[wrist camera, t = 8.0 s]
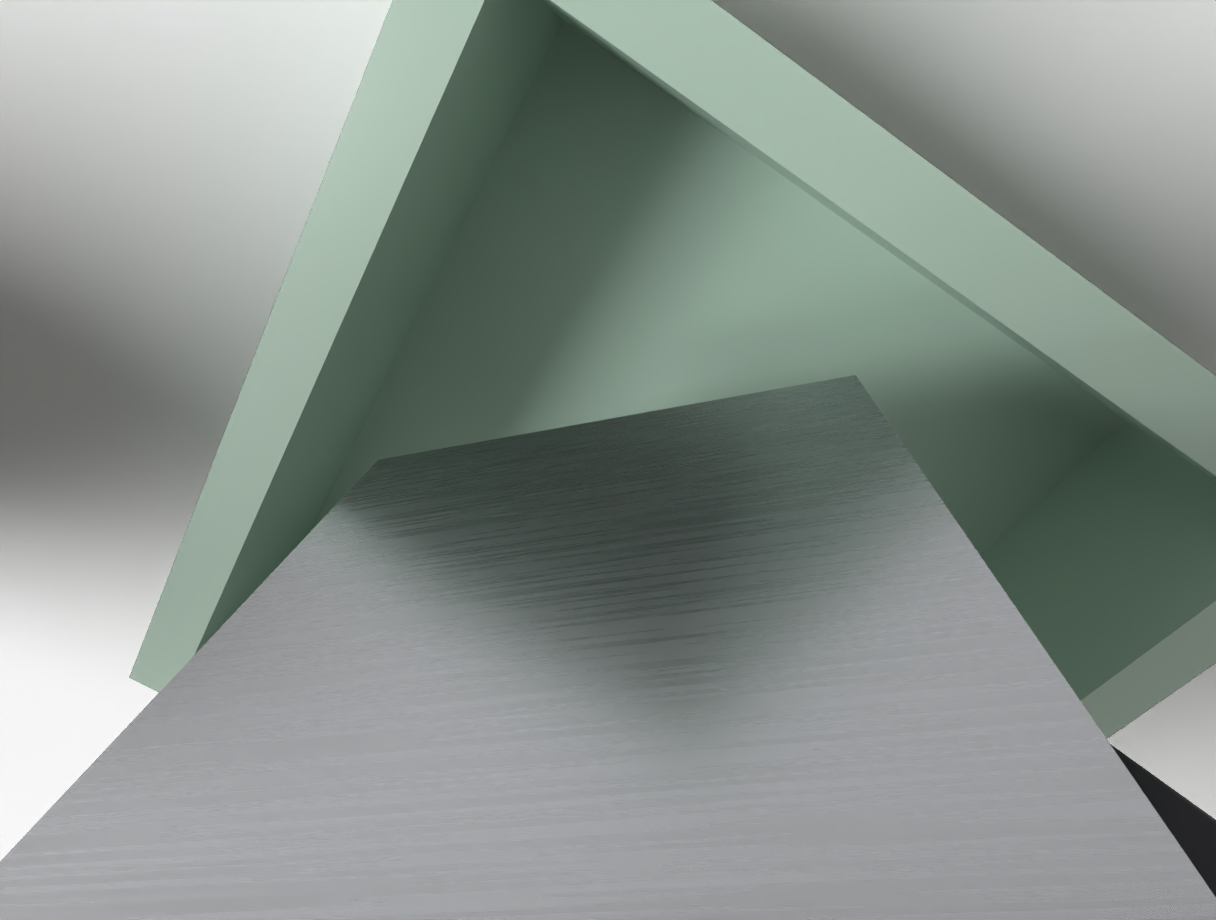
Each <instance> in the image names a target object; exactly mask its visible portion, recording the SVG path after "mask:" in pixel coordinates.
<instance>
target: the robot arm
mask: <svg viewBox="0 0 1216 920" xmlns="http://www.w3.org/2000/svg"><path fill="white" fill-rule="evenodd" d="M1110 745H1111V744H1110ZM1111 746H1112V745H1111ZM1112 748H1113V749H1114V750H1115V752H1116V753H1117V755H1118V756H1119V758H1120V759H1121V761H1122V762H1123V764H1124V765H1125V766H1126V768H1127V769H1128V771H1129V772H1130V774H1131V775H1132V777H1133V778H1134V780H1135V781H1136V782H1137V784H1138V785H1139V787H1140V788H1141V790H1142V791H1143V793H1144V794H1145V795H1146V797H1147V798H1148V800H1149V801H1150V803H1151V804H1152V806H1153V807H1154V809H1155V810H1156V811H1157V813H1158V814H1159V816H1160V817H1161V819H1162V820H1163V822H1164V823H1165V824H1166V826H1167V827H1168V829H1169V830H1170V832H1171V833H1172V835H1173V836H1174V838H1175V839H1176V840H1177V842H1178V843H1179V845H1180V846H1181V848H1182V849H1183V851H1184V852H1185V854H1186V855H1187V856H1188V858H1189V859H1190V861H1191V862H1192V864H1193V865H1194V867H1195V868H1196V869H1197V871H1198V872H1199V874H1200V875H1201V877H1202V878H1203V880H1204V881H1205V883H1206V884H1207V885H1208V887H1209V888H1210V890H1211V891H1212V893H1213V894H1214V896H1215V897H1216V820H1215V819H1214V818H1212V817H1211V816H1210V815H1208V814H1207V813H1205V812H1204V811H1203V810H1201V809H1200V808H1199V807H1197V806H1196V805H1194V804H1193V803H1192V802H1190V801H1189V800H1187V799H1186V798H1185V797H1183V796H1182V795H1180V794H1179V793H1178V792H1176V791H1175V790H1173V789H1172V788H1171V787H1169V786H1168V785H1166V784H1165V783H1164V782H1162V781H1161V780H1159V779H1158V778H1157V777H1155V776H1154V775H1153V774H1151V773H1150V772H1148V771H1147V770H1146V769H1144V768H1143V767H1141V766H1140V765H1139V764H1137V763H1136V762H1134V761H1133V760H1132V759H1130V758H1129V757H1127V756H1126V755H1125V754H1123V753H1122V752H1120V751H1119V750H1118V749H1116V748H1115V747H1113V746H1112Z"/></svg>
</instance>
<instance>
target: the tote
mask: <svg viewBox="0 0 1216 920" xmlns="http://www.w3.org/2000/svg"><path fill="white" fill-rule="evenodd" d="M853 375H856V376H857V378H858V379H859V381H860V382H861V383H862V385H863V386H864V388H865V389H866V391H867V392H868V394H869V395H870V396H871V398H872V399H873V401H874V402H875V404H876V405H877V407H878V408H879V410H880V411H881V412H882V414H883V415H884V417H885V418H886V420H887V421H888V423H889V424H890V425H891V427H892V428H893V430H894V431H895V433H896V434H897V436H898V437H899V439H900V440H901V441H902V443H903V444H904V446H905V447H906V449H907V450H908V452H909V453H910V455H911V456H912V457H913V459H914V460H915V462H916V463H917V465H918V466H919V468H920V469H921V470H922V472H923V473H924V475H925V476H926V478H927V479H928V481H929V482H930V484H931V485H932V486H933V488H934V489H935V491H936V492H937V494H938V495H939V497H940V498H941V499H942V501H943V502H944V504H945V505H946V507H947V508H948V510H949V511H950V513H951V514H952V515H953V517H954V518H955V520H956V521H957V523H958V524H959V526H960V527H961V529H962V530H963V531H964V533H965V534H966V536H967V537H968V539H969V540H970V542H971V543H972V544H973V546H974V547H975V549H976V550H977V552H978V553H979V555H980V556H981V558H982V559H983V560H984V562H985V563H986V565H987V566H988V568H989V569H990V571H991V572H992V573H993V575H994V576H995V578H996V579H997V581H998V582H999V584H1000V585H1001V587H1002V588H1003V589H1004V591H1005V592H1006V594H1007V595H1008V597H1009V598H1010V600H1011V601H1012V603H1013V604H1014V605H1015V607H1016V608H1017V610H1018V611H1019V613H1020V614H1021V616H1022V617H1023V618H1024V620H1025V621H1026V623H1027V624H1028V626H1029V627H1030V629H1031V630H1032V632H1033V633H1034V634H1035V636H1036V637H1037V639H1038V640H1039V642H1040V643H1041V645H1042V646H1043V647H1044V649H1045V650H1046V652H1047V653H1048V655H1049V656H1050V658H1051V659H1052V661H1053V662H1054V663H1055V665H1056V666H1057V668H1058V669H1059V671H1060V672H1061V674H1062V675H1063V676H1064V678H1065V679H1066V681H1067V682H1068V684H1069V685H1070V687H1071V688H1072V690H1073V691H1074V692H1075V694H1076V695H1077V697H1078V698H1079V700H1080V701H1081V703H1082V704H1083V706H1084V707H1085V708H1086V710H1087V711H1088V713H1089V714H1090V716H1091V717H1092V719H1093V720H1094V721H1095V723H1096V724H1097V726H1098V727H1099V729H1100V730H1101V732H1102V733H1103V735H1104V736H1105V737H1106V739H1107V738H1109V737H1110V736H1112V735H1113V734H1115V733H1116V732H1117V731H1119V730H1120V729H1122V728H1123V727H1125V726H1126V725H1127V724H1129V723H1130V722H1132V721H1133V720H1135V719H1136V718H1137V717H1139V716H1140V715H1142V714H1143V713H1145V712H1146V711H1147V710H1149V709H1150V708H1152V707H1153V706H1155V705H1156V704H1158V703H1159V702H1160V701H1162V700H1163V699H1165V698H1166V697H1168V696H1169V695H1170V694H1172V693H1173V692H1175V691H1176V690H1178V689H1179V688H1180V687H1182V686H1183V685H1185V684H1186V683H1188V682H1189V681H1191V680H1192V679H1193V678H1195V677H1196V676H1198V675H1199V674H1201V673H1202V672H1203V671H1205V670H1206V669H1208V668H1209V667H1211V666H1212V665H1213V664H1215V663H1216V376H1215V375H1214V374H1213V373H1211V372H1210V371H1209V370H1207V369H1206V368H1205V367H1203V366H1202V365H1201V364H1199V363H1198V362H1197V361H1195V360H1194V359H1193V358H1191V357H1190V356H1189V355H1187V354H1186V353H1185V352H1183V351H1182V350H1181V349H1179V348H1178V347H1177V346H1175V345H1174V344H1173V343H1171V342H1170V341H1168V340H1167V339H1166V338H1164V337H1163V336H1162V335H1160V334H1159V333H1158V332H1156V331H1155V330H1154V329H1152V328H1151V327H1150V326H1148V325H1147V324H1146V323H1144V322H1143V321H1142V320H1140V319H1139V318H1138V317H1136V316H1135V315H1134V314H1132V313H1131V312H1130V311H1128V310H1127V309H1126V308H1124V307H1123V306H1121V305H1120V304H1119V303H1117V302H1116V301H1115V300H1113V299H1112V298H1111V297H1109V296H1108V295H1107V294H1105V293H1104V292H1103V291H1101V290H1100V289H1099V288H1097V287H1096V286H1095V285H1093V284H1092V283H1091V282H1089V281H1088V280H1087V279H1085V278H1084V277H1083V276H1081V275H1080V274H1078V273H1077V272H1076V271H1074V270H1073V269H1072V268H1070V267H1069V266H1068V265H1066V264H1065V263H1064V262H1062V261H1061V260H1060V259H1058V258H1057V257H1056V256H1054V255H1053V254H1052V253H1050V252H1049V251H1048V250H1046V249H1045V248H1044V247H1042V246H1041V245H1040V244H1038V243H1037V242H1036V241H1034V240H1033V239H1031V238H1030V237H1029V236H1027V235H1026V234H1025V233H1023V232H1022V231H1021V230H1019V229H1018V228H1017V227H1015V226H1014V225H1013V224H1011V223H1010V222H1009V221H1007V220H1006V219H1005V218H1003V217H1002V216H1001V215H999V214H998V213H997V212H995V211H994V210H993V209H991V208H990V207H989V206H987V205H986V204H984V203H983V202H982V201H980V200H979V199H978V198H976V197H975V196H974V195H972V194H971V193H970V192H968V191H967V190H966V189H964V188H963V187H962V186H960V185H959V184H958V183H956V182H955V181H954V180H952V179H951V178H950V177H948V176H947V175H946V174H944V173H943V172H941V171H940V170H939V169H937V168H936V167H935V166H933V165H932V164H931V163H929V162H928V161H927V160H925V159H924V158H923V157H921V156H920V155H919V154H917V153H916V152H915V151H913V150H912V149H911V148H909V147H908V146H907V145H905V144H904V143H903V142H901V141H900V140H899V139H897V138H896V137H894V136H893V135H892V134H890V133H889V132H888V131H886V130H885V129H884V128H882V127H881V126H880V125H878V124H877V123H876V122H874V121H873V120H872V119H870V118H869V117H868V116H866V115H865V114H864V113H862V112H861V111H860V110H858V109H857V108H856V107H854V106H853V105H852V104H850V103H849V102H847V101H846V100H845V99H843V98H842V97H841V96H839V95H838V94H837V93H835V92H834V91H833V90H831V89H830V88H829V87H827V86H826V85H825V84H823V83H822V82H821V81H819V80H818V79H817V78H815V77H814V76H813V75H811V74H810V73H809V72H807V71H806V70H804V69H803V68H802V67H800V66H799V65H798V64H796V63H795V62H794V61H792V60H791V59H790V58H788V57H787V56H786V55H784V54H783V53H782V52H780V51H779V50H778V49H776V48H775V47H774V46H772V45H771V44H770V43H768V42H767V41H766V40H764V39H763V38H762V37H760V36H759V35H757V34H756V33H755V32H753V31H752V30H751V29H749V28H748V27H747V26H745V25H744V24H743V23H741V22H740V21H739V20H737V19H736V18H735V17H733V16H732V15H731V14H729V13H728V12H727V11H725V10H724V9H723V8H721V7H720V6H719V5H717V4H716V3H715V2H713V1H712V0H392V3H391V6H390V8H389V11H388V13H387V16H386V18H385V21H384V24H383V26H382V29H381V31H380V34H379V36H378V39H377V42H376V44H375V47H374V49H373V52H372V54H371V57H370V60H369V62H368V65H367V67H366V70H365V72H364V75H363V78H362V80H361V83H360V85H359V88H358V90H357V93H356V96H355V98H354V101H353V103H352V106H351V108H350V111H349V114H348V116H347V119H346V121H345V124H344V126H343V129H342V132H341V134H340V137H339V139H338V142H337V144H336V147H335V150H334V152H333V155H332V157H331V160H330V162H329V165H328V168H327V170H326V173H325V175H324V178H323V180H322V183H321V186H320V188H319V191H318V193H317V196H316V198H315V201H314V204H313V206H312V209H311V211H310V214H309V216H308V219H307V222H306V224H305V227H304V229H303V232H302V234H301V237H300V240H299V242H298V245H297V247H296V250H295V252H294V255H293V258H292V260H291V263H290V265H289V268H288V270H287V273H286V276H285V278H284V281H283V283H282V286H281V288H280V291H279V294H278V296H277V299H276V301H275V304H274V306H273V309H272V312H271V314H270V317H269V319H268V322H267V324H266V327H265V330H264V332H263V335H262V337H261V340H260V342H259V345H258V348H257V350H256V353H255V355H254V358H253V360H252V363H251V366H250V368H249V371H248V373H247V376H246V378H245V381H244V384H243V386H242V389H241V391H240V394H239V396H238V399H237V402H236V404H235V407H234V409H233V412H232V414H231V417H230V420H229V422H228V425H227V427H226V430H225V432H224V435H223V438H222V440H221V443H220V445H219V448H218V450H217V453H216V456H215V458H214V461H213V463H212V466H211V468H210V471H209V474H208V476H207V479H206V481H205V484H204V486H203V489H202V492H201V494H200V497H199V499H198V502H197V504H196V507H195V510H194V512H193V515H192V517H191V520H190V522H189V525H188V528H187V530H186V533H185V535H184V538H183V540H182V543H181V546H180V548H179V551H178V553H177V556H176V558H175V561H174V564H173V566H172V569H171V571H170V574H169V576H168V579H167V582H166V584H165V587H164V589H163V592H162V594H161V597H160V600H159V602H158V605H157V607H156V610H155V612H154V615H153V618H152V620H151V623H150V625H149V628H148V630H147V633H146V636H145V638H144V641H143V643H142V646H141V648H140V651H139V654H138V656H137V659H136V661H135V664H134V666H133V669H132V672H131V674H130V677H129V678H131V679H133V680H135V681H137V682H139V683H141V684H143V685H145V686H147V687H149V688H151V689H153V690H155V691H157V692H160V691H161V690H162V689H163V688H164V687H165V686H166V685H167V684H168V683H169V682H170V681H171V680H172V679H173V678H174V676H175V675H176V674H177V673H178V672H179V671H180V670H181V669H182V668H183V667H184V666H185V665H186V664H187V663H188V662H189V660H190V659H191V658H192V657H193V656H194V655H195V654H196V653H197V652H198V651H199V650H200V649H201V648H202V647H203V646H204V645H205V643H206V642H207V641H208V640H209V639H210V638H211V637H212V636H213V635H214V634H215V633H216V632H217V631H218V630H219V629H220V628H221V626H222V625H223V624H224V623H225V622H226V621H227V620H228V619H229V618H230V617H231V616H232V615H233V614H234V613H235V612H236V610H237V609H238V608H239V607H240V606H241V605H242V604H243V603H244V602H245V601H246V600H247V599H248V598H249V597H250V596H251V595H252V593H253V592H254V591H255V590H256V589H257V588H258V587H259V586H260V585H261V584H262V583H263V582H264V581H265V580H266V579H267V578H268V576H269V575H270V574H271V573H272V572H273V571H274V570H275V569H276V568H277V567H278V566H279V565H280V564H281V563H282V562H283V560H284V559H285V558H286V557H287V556H288V555H289V554H290V553H291V552H292V551H293V550H294V549H295V548H296V547H297V546H298V545H299V543H300V542H301V541H302V540H303V539H304V538H305V537H306V536H307V535H308V534H309V533H310V532H311V531H312V530H313V529H314V528H315V526H316V525H317V524H318V523H319V522H320V521H321V520H322V519H323V518H324V517H325V516H326V515H327V514H328V513H329V512H330V510H331V509H332V508H333V507H334V506H335V505H336V504H337V503H338V502H339V501H340V500H341V499H342V498H343V497H344V496H345V495H346V493H347V492H348V491H349V490H350V489H351V488H352V487H353V486H354V485H355V484H356V483H357V482H358V481H359V480H360V479H361V478H362V476H363V475H364V474H365V473H366V472H367V471H368V470H369V469H370V468H371V467H372V466H373V465H374V464H375V463H376V462H377V460H380V459H385V458H391V457H396V456H402V455H408V454H413V453H419V452H425V451H430V450H436V449H442V448H447V447H453V446H458V445H464V444H470V443H475V442H481V441H487V440H492V439H498V438H503V437H509V436H515V435H520V434H526V433H532V432H537V431H543V430H549V429H554V428H560V427H565V426H571V425H577V424H582V423H588V422H594V421H599V420H605V419H610V418H616V417H622V416H627V415H633V414H639V413H644V412H650V411H656V410H661V409H667V408H672V407H678V406H684V405H689V404H695V403H701V402H706V401H712V400H717V399H723V398H729V397H734V396H740V395H746V394H751V393H757V392H763V391H768V390H774V389H779V388H785V387H791V386H796V385H802V384H808V383H813V382H819V381H825V380H830V379H836V378H841V377H847V376H853Z"/></svg>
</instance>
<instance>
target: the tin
mask: <svg viewBox="0 0 1216 920" xmlns="http://www.w3.org/2000/svg"><path fill="white" fill-rule="evenodd" d="M0 920H1216V897H1215V896H1214V894H1213V893H1212V891H1211V890H1210V888H1209V887H1208V885H1207V884H1206V883H1205V881H1204V880H1203V878H1202V877H1201V875H1200V874H1199V872H1198V871H1197V869H1196V868H1195V867H1194V865H1193V864H1192V862H1191V861H1190V859H1189V858H1188V856H1187V855H1186V854H1185V852H1184V851H1183V849H1182V848H1181V846H1180V845H1179V843H1178V842H1177V840H1176V839H1175V838H1174V836H1173V835H1172V833H1171V832H1170V830H1169V829H1168V827H1167V826H1166V824H1165V823H1164V822H1163V820H1162V819H1161V817H1160V816H1159V814H1158V813H1157V811H1156V810H1155V809H1154V807H1153V806H1152V804H1151V803H1150V801H1149V800H1148V798H1147V797H1146V795H1145V794H1144V793H1143V791H1142V790H1141V788H1140V787H1139V785H1138V784H1137V782H1136V781H1135V780H1134V778H1133V777H1132V775H1131V774H1130V772H1129V771H1128V769H1127V768H1126V766H1125V765H1124V764H1123V762H1122V761H1121V759H1120V758H1119V756H1118V755H1117V753H1116V752H1115V750H1114V749H1113V748H1112V746H1111V745H1110V743H1109V742H1108V740H1107V739H1106V737H1105V736H1104V735H1103V733H1102V732H1101V730H1100V729H1099V727H1098V726H1097V724H1096V723H1095V721H1094V720H1093V719H1092V717H1091V716H1090V714H1089V713H1088V711H1087V710H1086V708H1085V707H1084V706H1083V704H1082V703H1081V701H1080V700H1079V698H1078V697H1077V695H1076V694H1075V692H1074V691H1073V690H1072V688H1071V687H1070V685H1069V684H1068V682H1067V681H1066V679H1065V678H1064V676H1063V675H1062V674H1061V672H1060V671H1059V669H1058V668H1057V666H1056V665H1055V663H1054V662H1053V661H1052V659H1051V658H1050V656H1049V655H1048V653H1047V652H1046V650H1045V649H1044V647H1043V646H1042V645H1041V643H1040V642H1039V640H1038V639H1037V637H1036V636H1035V634H1034V633H1033V632H1032V630H1031V629H1030V627H1029V626H1028V624H1027V623H1026V621H1025V620H1024V618H1023V617H1022V616H1021V614H1020V613H1019V611H1018V610H1017V608H1016V607H1015V605H1014V604H1013V603H1012V601H1011V600H1010V598H1009V597H1008V595H1007V594H1006V592H1005V591H1004V589H1003V588H1002V587H1001V585H1000V584H999V582H998V581H997V579H996V578H995V576H994V575H993V573H992V572H991V571H990V569H989V568H988V566H987V565H986V563H985V562H984V560H983V559H982V558H981V556H980V555H979V553H978V552H977V550H976V549H975V547H974V546H973V544H972V543H971V542H970V540H969V539H968V537H967V536H966V534H965V533H964V531H963V530H962V529H961V527H960V526H959V524H958V523H957V521H956V520H955V518H954V517H953V515H952V514H951V513H950V511H949V510H948V508H947V507H946V505H945V504H944V502H943V501H942V499H941V498H940V497H939V495H938V494H937V492H936V491H935V489H934V488H933V486H932V485H931V484H930V482H929V481H928V479H927V478H926V476H925V475H924V473H923V472H922V470H921V469H920V468H919V466H918V465H917V463H916V462H915V460H914V459H913V457H912V456H911V455H910V453H909V452H908V450H907V449H906V447H905V446H904V444H903V443H902V441H901V440H900V439H899V437H898V436H897V434H896V433H895V431H894V430H893V428H892V427H891V425H890V424H889V423H888V421H887V420H886V418H885V417H884V415H883V414H882V412H881V411H880V410H879V408H878V407H877V405H876V404H875V402H874V401H873V399H872V398H871V396H870V395H869V394H868V392H867V391H866V389H865V388H864V386H863V385H862V383H861V382H860V381H859V379H858V378H857V376H856V375H853V376H847V377H841V378H836V379H830V380H825V381H819V382H813V383H808V384H802V385H796V386H791V387H785V388H779V389H774V390H768V391H763V392H757V393H751V394H746V395H740V396H734V397H729V398H723V399H717V400H712V401H706V402H701V403H695V404H689V405H684V406H678V407H672V408H667V409H661V410H656V411H650V412H644V413H639V414H633V415H627V416H622V417H616V418H610V419H605V420H599V421H594V422H588V423H582V424H577V425H571V426H565V427H560V428H554V429H549V430H543V431H537V432H532V433H526V434H520V435H515V436H509V437H503V438H498V439H492V440H487V441H481V442H475V443H470V444H464V445H458V446H453V447H447V448H442V449H436V450H430V451H425V452H419V453H413V454H408V455H402V456H396V457H391V458H385V459H380V460H377V462H376V463H375V464H374V465H373V466H372V467H371V468H370V469H369V470H368V471H367V472H366V473H365V474H364V475H363V476H362V478H361V479H360V480H359V481H358V482H357V483H356V484H355V485H354V486H353V487H352V488H351V489H350V490H349V491H348V492H347V493H346V495H345V496H344V497H343V498H342V499H341V500H340V501H339V502H338V503H337V504H336V505H335V506H334V507H333V508H332V509H331V510H330V512H329V513H328V514H327V515H326V516H325V517H324V518H323V519H322V520H321V521H320V522H319V523H318V524H317V525H316V526H315V528H314V529H313V530H312V531H311V532H310V533H309V534H308V535H307V536H306V537H305V538H304V539H303V540H302V541H301V542H300V543H299V545H298V546H297V547H296V548H295V549H294V550H293V551H292V552H291V553H290V554H289V555H288V556H287V557H286V558H285V559H284V560H283V562H282V563H281V564H280V565H279V566H278V567H277V568H276V569H275V570H274V571H273V572H272V573H271V574H270V575H269V576H268V578H267V579H266V580H265V581H264V582H263V583H262V584H261V585H260V586H259V587H258V588H257V589H256V590H255V591H254V592H253V593H252V595H251V596H250V597H249V598H248V599H247V600H246V601H245V602H244V603H243V604H242V605H241V606H240V607H239V608H238V609H237V610H236V612H235V613H234V614H233V615H232V616H231V617H230V618H229V619H228V620H227V621H226V622H225V623H224V624H223V625H222V626H221V628H220V629H219V630H218V631H217V632H216V633H215V634H214V635H213V636H212V637H211V638H210V639H209V640H208V641H207V642H206V643H205V645H204V646H203V647H202V648H201V649H200V650H199V651H198V652H197V653H196V654H195V655H194V656H193V657H192V658H191V659H190V660H189V662H188V663H187V664H186V665H185V666H184V667H183V668H182V669H181V670H180V671H179V672H178V673H177V674H176V675H175V676H174V678H173V679H172V680H171V681H170V682H169V683H168V684H167V685H166V686H165V687H164V688H163V689H162V690H161V691H160V692H159V693H158V695H157V696H156V697H155V698H154V699H153V700H152V701H151V702H150V703H149V704H148V705H147V706H146V707H145V708H144V709H143V710H142V712H141V713H140V714H139V715H138V716H137V717H136V718H135V719H134V720H133V721H132V722H131V723H130V724H129V725H128V726H127V728H126V729H125V730H124V731H123V732H122V733H121V734H120V735H119V736H118V737H117V738H116V739H115V740H114V741H113V742H112V743H111V745H110V746H109V747H108V748H107V749H106V750H105V751H104V752H103V753H102V754H101V755H100V756H99V757H98V758H97V759H96V760H95V762H94V763H93V764H92V765H91V766H90V767H89V768H88V769H87V770H86V771H85V772H84V773H83V774H82V775H81V776H80V777H79V779H78V780H77V781H76V782H75V783H74V784H73V785H72V786H71V787H70V788H69V789H68V790H67V791H66V792H65V793H64V795H63V796H62V797H61V798H60V799H59V800H58V801H57V802H56V803H55V804H54V805H53V806H52V807H51V808H50V809H49V810H48V812H47V813H46V814H45V815H44V816H43V817H42V818H41V819H40V820H39V821H38V822H37V823H36V824H35V825H34V826H33V827H32V829H31V830H30V831H29V832H28V833H27V834H26V835H25V836H24V837H23V838H22V839H21V840H20V841H19V842H18V843H17V845H16V846H15V847H14V848H13V849H12V850H11V851H10V852H9V853H8V854H7V855H6V856H5V857H4V858H3V859H2V860H1V862H0Z"/></svg>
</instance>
